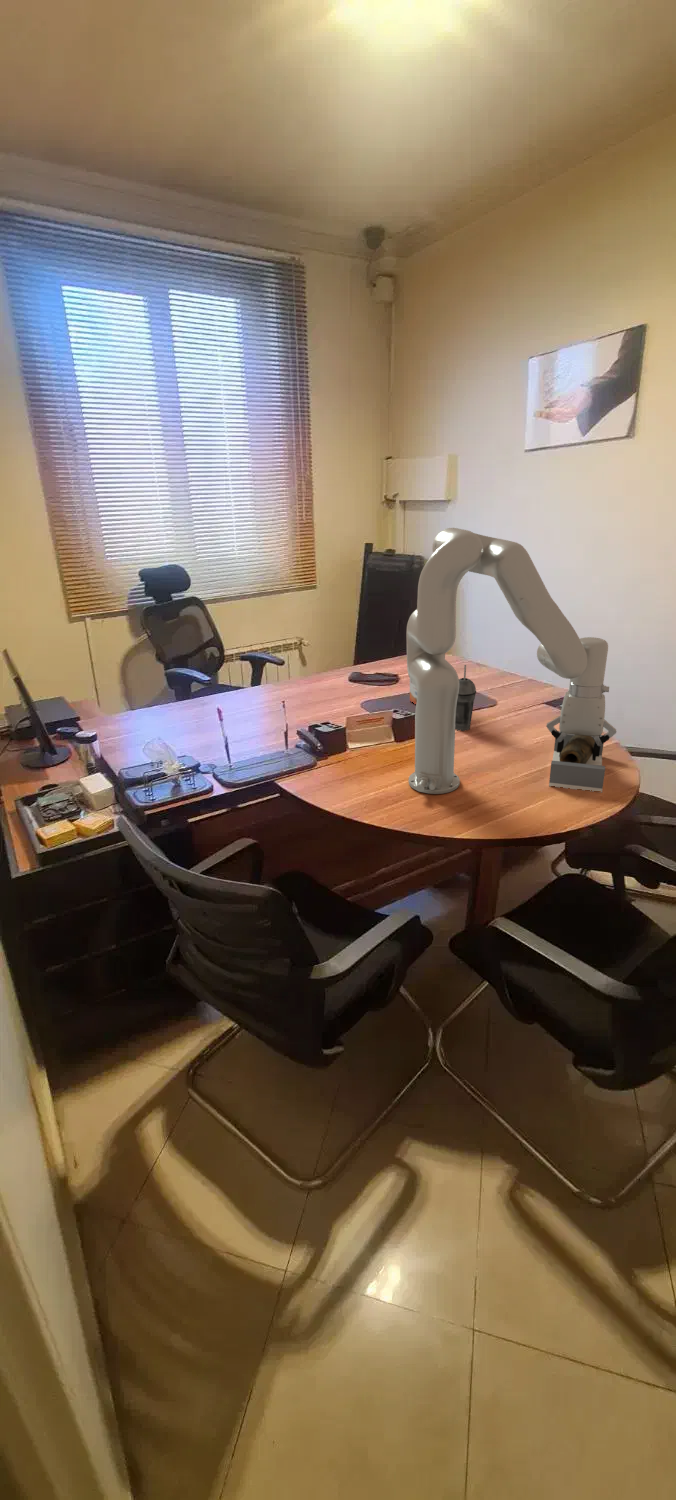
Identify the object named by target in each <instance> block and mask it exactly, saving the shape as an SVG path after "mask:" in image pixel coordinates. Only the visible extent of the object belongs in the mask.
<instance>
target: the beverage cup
mask: <svg viewBox="0 0 676 1500" xmlns="http://www.w3.org/2000/svg"><path fill="white" fill-rule="evenodd" d="M463 670H464V671H463V677H462V678H459V693H458V698H457V704H456V716H455V730H456V729H457V731H460V730H461V731H460V732H463V731H465V730H466V731H469V730H470V729H471V724H472V717H473V711H474V710H473V709H474V702H475V699H476V694H477V688H476V684H475V683H474V682H473V680H471V679H470V678H467V677H466V676H467V664H464V668H463ZM466 731H465V732H466Z"/></svg>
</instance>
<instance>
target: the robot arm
mask: <svg viewBox="0 0 676 1500" xmlns="http://www.w3.org/2000/svg"><path fill="white" fill-rule="evenodd" d="M431 547H432V554H431V555H430V557H429V558H428V560H427V561H426V562H425V564H424V566H423V567H422V570H421V572H420V575H419V579H418V585H417V601H416V605H417V606H416V609H415V610H414V611H413V612H412V613H411V614H410V615H409V618H408V621H407V624H406V636H405V637H406V666H407V667H406V669H407V673H408V674H407V675H408V677H409V681H410V680H411V681H412V683H413V684H414V685H415V687H416V688H417V703H416V705H415V714H414V715H415V716H414V719H415V720H414V747H415V748H414V772H412V773H411V774H410V775H409V776H408V785H409V786H410V788H411V789H413V790H416V791H417V792H420V793H424V794H429V795H430V794H431V795H440V794H441V795H442V794H448V793H450V792H453V791H455V790H457V788H459V786H460V783H461V780H460V777H459V776H458V775H457V774H456V773H455V746H456V745H455V743H456V742H455V740H456V729H455V716H456V704H457V698H458V693H459V679H460V678H459V675H458V673H457V671H456V669H455V667H454V666H453V665H452V664H451V663H450V662H449V661H448V660H447V659H446V653H448V652H449V651H450V650H451V649H452V648H453V646H454V644H455V642H456V637H457V628H456V627H457V625H456V623H457V621H456V619H457V617H456V615H457V606H456V605H457V594H458V587H459V584H460V582H461V580H462V579H463V577H464V576H465V575H466V574H467V573H468V572H469V573H470V572H471V573H474V574H479V575H485V576H489V577H492V578H494V580H495V581H496V584H497V585H498V587H499V589H500V591H501V592H502V594H503V596H504V598H505V599H506V602H507V603H508V605H509V607H510V609H511V610H512V613H513V614H514V616H515V618H517V620H518V621H519V622H520V623H521V625H523V626H524V627H525V628H526V629H527V630H528V631H529V632H530V633H531V634H533V635H534V636H535V638H537V640H538V641H539V643H540V644H539V646H538V647H537V649H536V658H537V660H538V662H539V663H540V664H541V665H542V666H543V667H545V668H546V669H548V670H549V671H551V672H553V673H554V674H556V675H558V676H559V677H560V678H563V679H567V680H569V689H568V691H566V692H565V694H564V697H563V700H562V704H561V711H560V715H558V716H557V717H554V718H553V719H551V721H548V722H547V723H546V728H547V730H548V731H549V732H550V734H551V735H552V736H553V737H554V738H556V740H557V741H558V746H557V752H559V753H560V754H561V751H562V750H563V745H564V738H565V736H566V735H567V734H574V735H585V736H593V738H594V740H595V742H594V748H593V756H592V760H593V761H595V760H596V756H598V757H599V752H600V746H601V745H602V744H603V743H607V741H609V740H610V739H611V738H612V737H613V736H614V735H616V734H617V729H616V728H615V726H613V725H612V724H611V723H610V722H608V721H607V720H606V719H605V716H606V713H605V712H606V695H605V693H609V692H610V686H607V685H605V684H604V683H605V675H606V666H607V660H608V659H607V658H608V652H609V643H608V641H606V639H603V638H599V637H592V636H591V637H590V636H589V637H581V638H580V637H579V635H578V633H577V631H576V630H575V628H574V627H573V625H572V624H571V622H570V621H569V620H568V618H567V617H566V615H565V614H564V613H563V611H562V610H561V609H560V607H559V605H557V603H556V602H555V601H554V598H553V597H552V596H551V595H550V593H549V591H548V589H547V587H546V585H545V584H544V581H543V579H542V578H541V576H540V574H539V572H538V570H537V568H536V566H535V563H534V562H533V560H532V558H531V556H530V554H529V552H528V550H527V549H526V548H525V547H524V546H523V545H522V544H520V543H518V542H517V541H512V540H507V539H502V538H498V537H497V538H496V537H492V536H488V535H483V534H478V533H475V532H473V531H470V530H467V529H463V528H457V527H449V528H448V527H447V528H445V529H442V530H441V531H440V532H438V534H437V535H435V537H434V539H433V543H432V546H431ZM556 725H559V727H558V728H559V730H557V729H556V728H555V726H556ZM604 729H605V730H607V732H606V733H605V734H603V732H604ZM558 731H560V733H559V732H558ZM600 735H603V736H600ZM603 745H604V744H603ZM560 754H559V757H560Z"/></svg>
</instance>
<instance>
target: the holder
mask: <svg viewBox="0 0 676 1500" xmlns="http://www.w3.org/2000/svg"><path fill="white" fill-rule="evenodd" d="M557 731H558V732H559V733H560V730H557ZM603 735H604V734H601V735H600V736H603ZM573 736H574V734H567V735H566V736H565V738H564V745H563V748H564V747H565V745H566V744H567V743H568V742H569V740H570V739H571V738H572V737H573ZM591 737H592V738H593V736H591ZM554 738H555V737H554ZM593 739H594V738H593ZM594 741H595V740H594ZM604 745H605V744H604V743H603V744H602V745H601V746H600V752H599V757H598V756H596V760H595V761H593V760H592V756H593V754H592V755H591V757H590V758H589V760H588V761H587V763H586V764H580V763H571V762H561V761H560V757H559V754H560V753H559V752H557V746H558V741H557V740H556V738H555V739H554V747H553V748H554V750H553V754H552V760H551V761H550V773H549V782H548V786H549V787H551V786H555V787H554V788H560V787H563V788H562V789H568V788H570V790H577V789H582V790H581V791H585V790H590V791H589V792H594V791H601V792H600V793H603V787H604V780H605V773H606V766H605V765H603V750H604ZM591 790H592V791H591Z"/></svg>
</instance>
